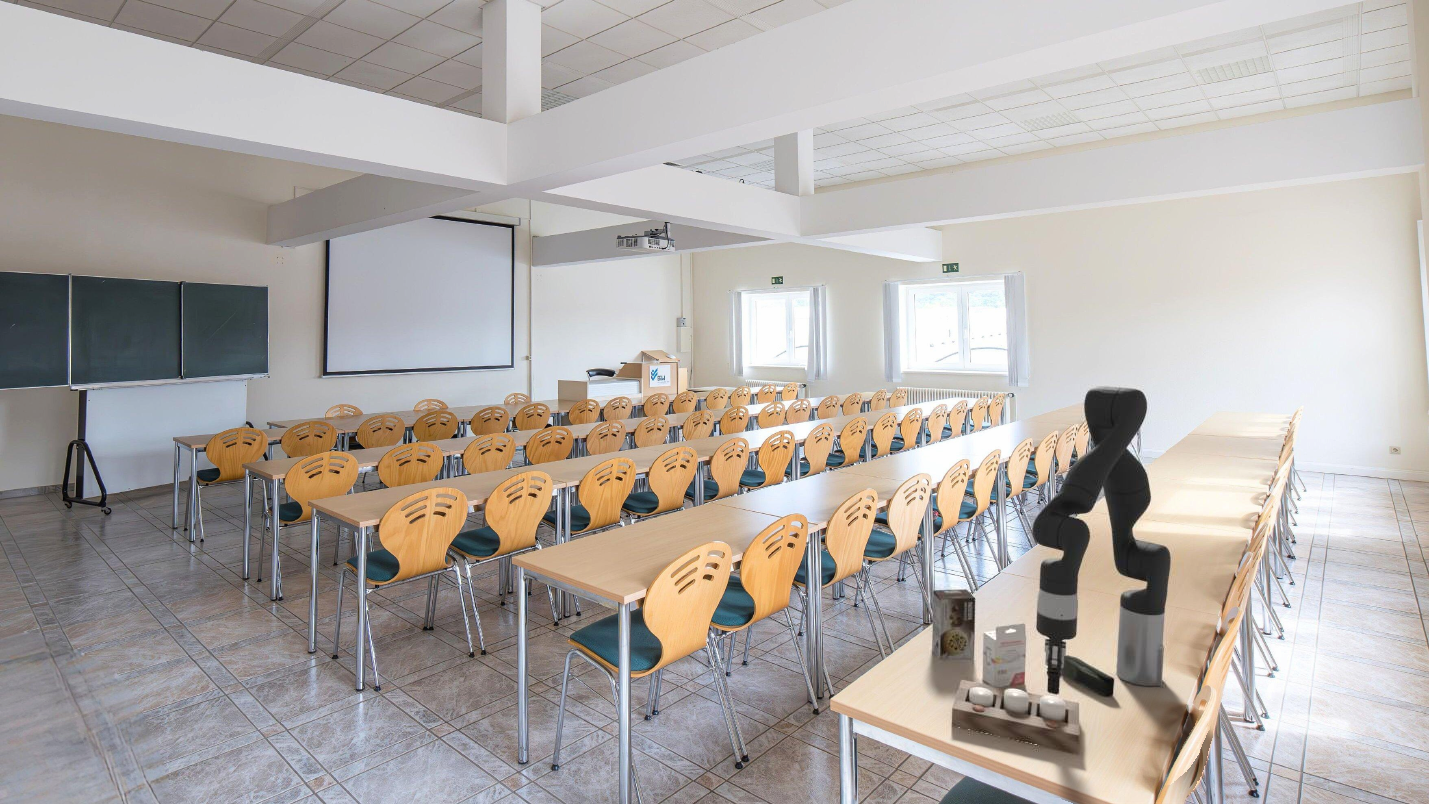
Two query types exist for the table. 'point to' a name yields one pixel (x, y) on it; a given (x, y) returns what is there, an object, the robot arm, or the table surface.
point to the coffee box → (953, 624)
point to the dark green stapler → (1088, 676)
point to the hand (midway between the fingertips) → (1053, 692)
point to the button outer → (981, 696)
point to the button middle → (1016, 701)
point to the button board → (1016, 720)
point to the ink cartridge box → (1004, 655)
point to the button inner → (1052, 708)
